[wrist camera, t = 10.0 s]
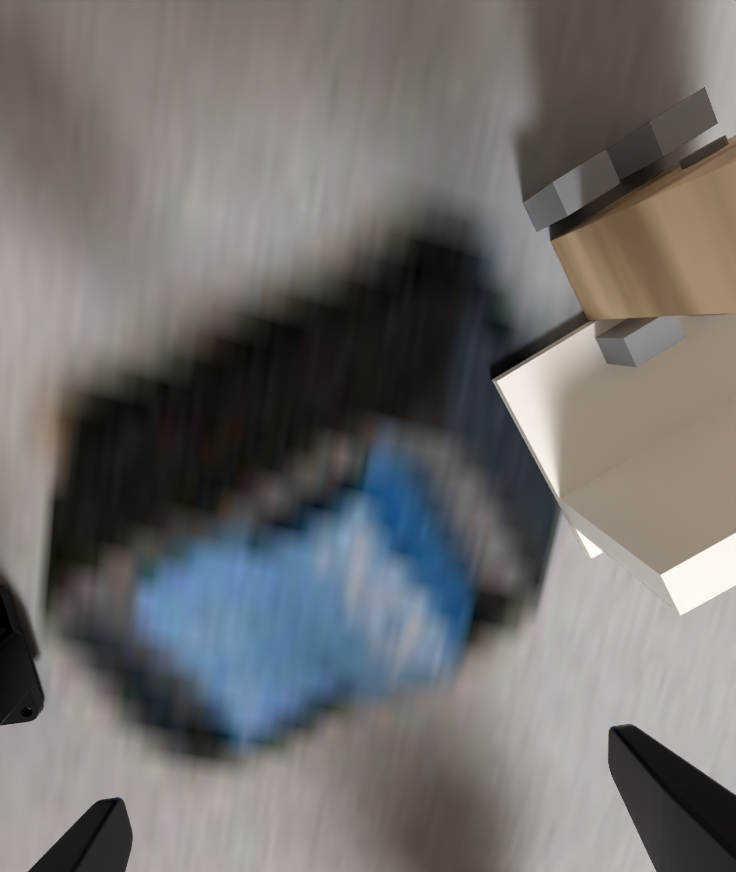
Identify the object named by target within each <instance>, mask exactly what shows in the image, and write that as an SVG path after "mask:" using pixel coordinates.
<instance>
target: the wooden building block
mask: <svg viewBox="0 0 736 872" xmlns="http://www.w3.org/2000/svg"><path fill="white" fill-rule="evenodd" d="M551 243H552V245H553V247H554V249H555V252H556V254H557V256H558V258H559V260H560V262H561V264H562V266H563V268H564V271H565V273H566V275H567V277H568V279H569V281H570V283H571V285H572V288H573V290H574V292H575V294H576V296H577V298H578V300H579V302H580V305H581V307H582V309H583V311H584V313H585V315H586V317H587V319H588V320H603V319H623V318H643V317H664V316H684V315H704V314H724V313H736V136H734V137H732V138H730V139H728V140H727V138H726V135H725V136H723V137H721V138H719V139H717V140H715V141H713V142H711V143H709V144H708V145H706V146H704V147H702V148H701V149H699V150H697V151H695V152H694V153H692V154H690V155H689V156H687V157H685V158H684V159H682V160H681V161H680V162H679V164H677V165H675V166H673V167H671V168H669V169H667V170H665V171H663V172H662V173H660V174H659V175H657V176H655V177H654V178H652V179H651V180H649V181H647V182H646V183H644V184H642V185H641V186H639V187H638V188H636V189H634V190H633V191H631V192H630V193H628V194H626V195H625V196H623V197H621V198H620V199H618V200H617V201H615V202H613V203H612V204H610V205H609V206H607V207H605V208H604V209H602V210H600V211H599V212H597V213H596V214H594V215H592V216H591V217H589V218H588V219H586V220H584V221H583V222H581V223H579V224H578V225H576V226H575V227H573V228H571V229H570V230H568V231H567V232H565V233H563V234H562V235H560V236H558V237H557V238H555V239H554V240H552V241H551Z"/></svg>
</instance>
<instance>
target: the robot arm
mask: <svg viewBox="0 0 736 872" xmlns="http://www.w3.org/2000/svg"><path fill="white" fill-rule="evenodd" d="M27 707H28V708H30V709H31V710H30V709H28V708H27ZM43 707H44V705H43V700H42V697H41V694H40V691H39V688H38V684H37V681H36V678H35V675H34V672H33V668H32V665H31V662H30V659H29V655H28V652H27V649H26V646H25V643H24V639H23V636H22V633H21V630H20V626H19V623H18V620H17V617H16V614H15V610H14V607H13V604H12V601H11V597H10V594H9V592H8V590H7V589H5V588H4V587H3V586H0V725H7V724H15V723H22V722H29V721H32V720H34V719H35V718H37V716H38V715H39V714H40V713H41V711H42V710H43ZM608 763H609V768H610V772H611V775H612V777H613V780H614V782H615V784H616V786H617V788H618V790H619V792H620V795H621V797H622V799H623V801H624V803H625V805H626V807H627V810H628V812H629V814H630V816H631V818H632V820H633V822H634V825H635V827H636V829H637V831H638V833H639V835H640V838H641V840H642V842H643V844H644V846H645V848H646V850H647V853H648V855H649V857H650V859H651V861H652V863H653V865H654V867H655V869H656V871H657V872H736V795H735V794H733V793H732V792H730V791H729V790H728V789H726V788H725V787H723V786H722V785H720V784H719V783H717V782H716V781H714V780H713V779H712V778H710V777H709V776H707V775H706V774H704V773H703V772H701V771H700V770H698V769H697V768H696V767H694V766H693V765H691V764H690V763H688V762H687V761H685V760H684V759H682V758H681V757H680V756H678V755H677V754H675V753H674V752H672V751H671V750H669V749H668V748H666V747H665V746H664V745H662V744H661V743H659V742H658V741H656V740H655V739H653V738H652V737H650V736H649V735H648V734H646V733H645V732H643V731H642V730H640V729H639V728H637V727H636V726H634V725H631V724H626V725H619V726H613V727H611V728H610V730H609V740H608ZM132 840H133V835H132V828H131V825H130V821H129V818H128V814H127V810H126V807H125V803H124V801H123V800H122V799H121V798H118V797H117V798H110V799H103V800H99V801H97V802H96V803H94V804H93V805H92V806H91V807H90V808H89V809H88V810H87V811H86V812H85V813H84V814H83V815H82V816H81V817H80V819H79V820H78V821H77V822H76V823H75V824H74V825H73V826H72V827H71V828H70V829H69V830H68V831H67V832H66V833H65V834H64V835H63V836H62V837H61V838H60V839H59V840H58V841H57V842H56V843H55V844H54V845H53V846H52V847H51V848H50V849H49V850H48V851H47V852H46V853H45V855H44V856H43V857H42V858H41V859H40V860H39V861H38V862H37V863H36V864H35V865H34V866H33V867H32V868H31V869H30V870H29V871H28V872H125V871H126V867H127V863H128V859H129V855H130V852H131V847H132Z"/></svg>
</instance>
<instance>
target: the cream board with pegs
mask: <svg viewBox="0 0 736 872" xmlns="http://www.w3.org/2000/svg"><path fill="white" fill-rule="evenodd" d="M717 123H718V122H717V120H716V117H715V114H714V111H713V109H712V106H711V103H710V100H709V98H708V95H707V92H706V89H705V87H704V88H702V89H701V90H699V91H697V92H696V93H694V94H693V95H691V96H689V97H688V98H686V99H685V100H683V101H681V102H680V103H678V104H677V105H675V106H673V107H672V108H670V109H669V110H667V111H665V112H664V113H662V114H661V115H659V116H657V117H656V118H654V119H653V120H651V121H649V122H648V123H647V124H645V125H644V126H642V127H641V128H639V129H638V130H636V131H635V132H633V133H632V134H630V135H629V136H627V137H626V138H624V139H623V140H621V141H620V142H618V143H617V144H615V145H614V146H613V147H611V148H610V149H608V150H606V149H605V150H603V151H602V152H600V153H598V154H597V155H595V156H594V157H592V158H590V159H589V160H587V161H586V162H584V163H582V164H581V165H579V166H578V167H576V168H574V169H573V170H571V171H570V172H568V173H566V174H565V175H563V176H562V177H560V178H558V179H557V180H555V181H554V182H552V183H551V184H549V185H548V186H546V187H545V188H543V189H542V190H541V191H539V192H538V193H536V194H535V195H533V196H532V197H531V198H529V199H528V200H526V201H525V202H523V203H524V205H525V208H526V210H527V212H528V214H529V216H530V218H531V220H532V222H533V224H534V227H535V229H536V231H539V230H541V229H543V228H545V227H547V226H549V225H551V224H553V223H555V222H557V221H559V220H561V219H563V218H565V217H567V216H569V215H570V214H572V213H574V212H575V211H577V210H578V209H580V208H582V207H583V206H585V205H586V204H588V203H590V202H591V201H593V200H595V199H596V198H598V197H599V196H601V195H603V194H604V193H606V192H607V191H609V190H611V189H612V188H614V187H616V186H617V185H619V184H620V180H621V179H623V178H625V177H627V176H629V175H631V174H632V173H634V172H636V171H638V170H640V169H642V168H644V167H645V166H647V165H649V164H651V163H653V162H655V161H657V160H658V159H660V158H662V157H664V156H666V155H667V154H669V153H670V152H672V151H674V150H675V149H677V148H678V147H680V146H682V145H683V144H685V143H687V142H688V141H690V140H691V139H693V138H695V137H696V136H698V135H699V134H701V133H703V132H704V131H706V130H708V129H709V128H711V127H712V126H714V125H716V124H717ZM492 381H493V383H494V385H495V387H496V389H497V390H498V392H499V394H500V396H501V398H502V400H503V402H504V403H505V405H506V407H507V409H508V411H509V413H510V415H511V416H512V418H513V420H514V422H515V424H516V426H517V428H518V430H519V431H520V433H521V435H522V437H523V439H524V441H525V443H526V444H527V446H528V448H529V450H530V452H531V454H532V456H533V457H534V459H535V461H536V463H537V465H538V467H539V469H540V470H541V472H542V474H543V476H544V478H545V480H546V482H547V484H548V485H549V487H550V489H551V491H552V493H553V495H554V497H555V498H556V500H557V502H558V504H559V506H560V508H561V510H562V511H563V513H564V515H565V517H566V519H567V521H568V523H569V524H570V526H571V528H572V530H573V532H574V534H575V536H576V538H577V539H578V541H579V543H580V545H581V547H582V549H583V551H584V552H585V553H586V554H587V555H588V556H589V557H590V558H591V559H592V558H594V557H596V556H597V555H599V554H601V553H603V552H604V553H605V554H607V555H608V556H609V557H610V558H612V559H613V560H614V561H615V562H616V563H618V564H619V565H620V566H621V567H622V568H624V569H625V570H626V571H627V572H628V573H630V574H631V575H632V576H633V577H634V578H636V579H637V580H638V581H639V582H641V583H642V584H643V585H644V586H645V587H647V588H648V589H649V590H650V591H651V592H653V593H654V594H655V595H656V596H657V597H659V598H660V599H661V600H662V601H663V602H665V603H666V604H667V605H668V606H670V607H671V608H672V609H673V610H674V611H676V612H677V613H678V614H679V615H680V616H681V615H682V614H684V613H686V612H688V611H690V610H691V609H693V608H695V607H697V606H699V605H700V604H702V603H704V602H706V601H708V600H710V599H711V598H713V597H715V596H717V595H719V594H720V593H722V592H724V591H726V590H728V589H729V588H731V587H733V586H735V585H736V313H724V314H704V315H684V316H664V317H643V318H623V319H603V320H590V321H589V322H587V323H585V324H584V325H582V326H580V327H579V328H577V329H575V330H574V331H572V332H570V333H569V334H567V335H565V336H564V337H562V338H560V339H559V340H557V341H555V342H554V343H552V344H551V345H549V346H547V347H546V348H544V349H542V350H541V351H539V352H537V353H536V354H534V355H532V356H531V357H529V358H527V359H526V360H524V361H522V362H521V363H519V364H517V365H516V366H514V367H512V368H511V369H509V370H507V371H506V372H504V373H502V374H501V375H499V376H497V377H496V378H494V379H492Z"/></svg>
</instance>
